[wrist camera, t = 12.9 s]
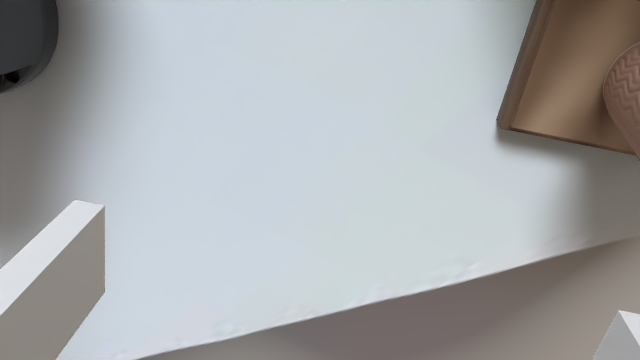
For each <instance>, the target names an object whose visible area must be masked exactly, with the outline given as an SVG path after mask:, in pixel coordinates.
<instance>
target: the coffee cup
mask: <svg viewBox="0 0 640 360" xmlns="http://www.w3.org/2000/svg"><path fill="white" fill-rule="evenodd" d="M603 96H604V101H605V104H606V108H607V110H608V111H609V112H608V113H609V115H610V116H611V118H612V120H613V121H614V123H615V124H616V126H617V127H618V129H619V130H620V131H621V133H622V135H623V136H624V138H625V139H626V140H627V142H628V143H629V145H630V146H631V148H632V149H633V150H634V152H635V154H636V155H637V157H638V158H639V160H640V42H639V43H637V44H634V45H632V46H631V47H629V48H628V49H627V50H625V51H624V52H623V53H622V54H621V55H620V56H619V57H617V58H616V60H615V61H614V62H613V64H612V65H611V66H610V68H609V70H608V72H607V74H606V77H605V81H604V86H603Z"/></svg>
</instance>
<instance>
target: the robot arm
mask: <svg viewBox="0 0 640 360" xmlns="http://www.w3.org/2000/svg"><path fill="white" fill-rule="evenodd" d="M57 35H58V15H57V8H56V3H55V0H0V94H2V93H5V92H8V91H11V90H13V89H15V88H17V87H19V86H22V85H24V84H26V83H28V82H29V81H31V80H32V79H34V78H35V77H36V76H37V75H39V74H40V73H41V72H42V70H43V69H44V68H45V67H46V65H47V64H48V62H49V60H50V59H51V57H52V54H53V52H54V49H55V45H56V41H57ZM104 292H105V208H104V205H99V204H94V203H89V202H84V201H79V200H74V201H73V202H72V203H71V204H70V205H69V206H68V207H67V208H65V209H64V210H63V211H62V212H61V213H60V214H59V215H58V216H57V217H56V218H55V219H54V220H53V221H52V222H50V223H49V224H48V225H47V226H46V227H45V228H44V229H43V230H42V231H41V232H40V233H39V234H38V235H37V236H36V237H34V238H33V239H32V240H31V241H30V242H29V243H28V244H27V245H26V246H25V247H24V248H23V249H22V250H21V251H19V252H18V253H17V254H16V255H15V256H14V257H13V258H12V259H11V260H10V261H9V262H8V263H7V264H6V265H4V266H3V267H2V268H1V269H0V360H55V359H56V358H57V357H58V355H59V354H60V352H61V351H62V350H63V348H64V347H65V346H66V344H67V343H68V342H69V340H70V339H71V337H72V336H73V335H74V333H75V332H76V331H77V329H78V328H79V326H80V325H81V324H82V322H83V321H84V320H85V318H86V317H87V316H88V314H89V313H90V311H91V310H92V309H93V307H94V306H95V305H96V303H97V302H98V300H99V299H100V298H101V296H102V295H103V294H104ZM592 360H640V314H635V313H630V312H625V311H620V310H618V311H617V313H616V315H615V317H614V319H613V321H612V323H611V325H610V327H609V328H608V330H607V332H606V334H605V336H604V338H603V340H602V342H601V343H600V346H599V347H598V349H597V351H596V353H595V355H594V357H593V359H592Z"/></svg>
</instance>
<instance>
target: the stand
mask: <svg viewBox="0 0 640 360" xmlns="http://www.w3.org/2000/svg"><path fill="white" fill-rule="evenodd" d="M639 42H640V0H537V1H536V4H535V7H534V10H533V13H532V16H531V18H530V21H529V24H528V27H527V30H526V33H525V36H524V39H523V42H522V45H521V48H520V51H519V54H518V57H517V60H516V63H515V66H514V69H513V72H512V75H511V78H510V81H509V84H508V87H507V90H506V93H505V96H504V99H503V102H502V105H501V108H500V111H499V113H498V116H497V119H496V120H497V121H498V123H499V125H500V127H501V129H506V130H511V131H516V132H522V133H527V134H532V135H537V136H542V137H547V138H552V139H557V140H562V141H567V142H572V143H577V144H582V145H587V146H592V147H597V148H602V149H607V150H612V151H617V152H622V153H627V154H632V155H636V154H635V152H634V150H633V149H632V148H631V146H630V145H629V143H628V142H627V140H626V139H625V138H624V136H623V135H622V133H621V131H620V130H619V129H618V127H617V126H616V124H615V123H614V121H613V120H612V118H611V116H610V115H609V113H608V112H609V111H608V110H607V108H606V104H605V101H604V96H603V86H604V81H605V77H606V74H607V72H608V70H609V68H610V66H611V65H612V64H613V62H614V61H615V60H616V58H617V57H619V56H620V55H621V54H622V53H623V52H624V51H625V50H627V49H628V48H629V47H631V46H632V45H634V44H637V43H639Z"/></svg>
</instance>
